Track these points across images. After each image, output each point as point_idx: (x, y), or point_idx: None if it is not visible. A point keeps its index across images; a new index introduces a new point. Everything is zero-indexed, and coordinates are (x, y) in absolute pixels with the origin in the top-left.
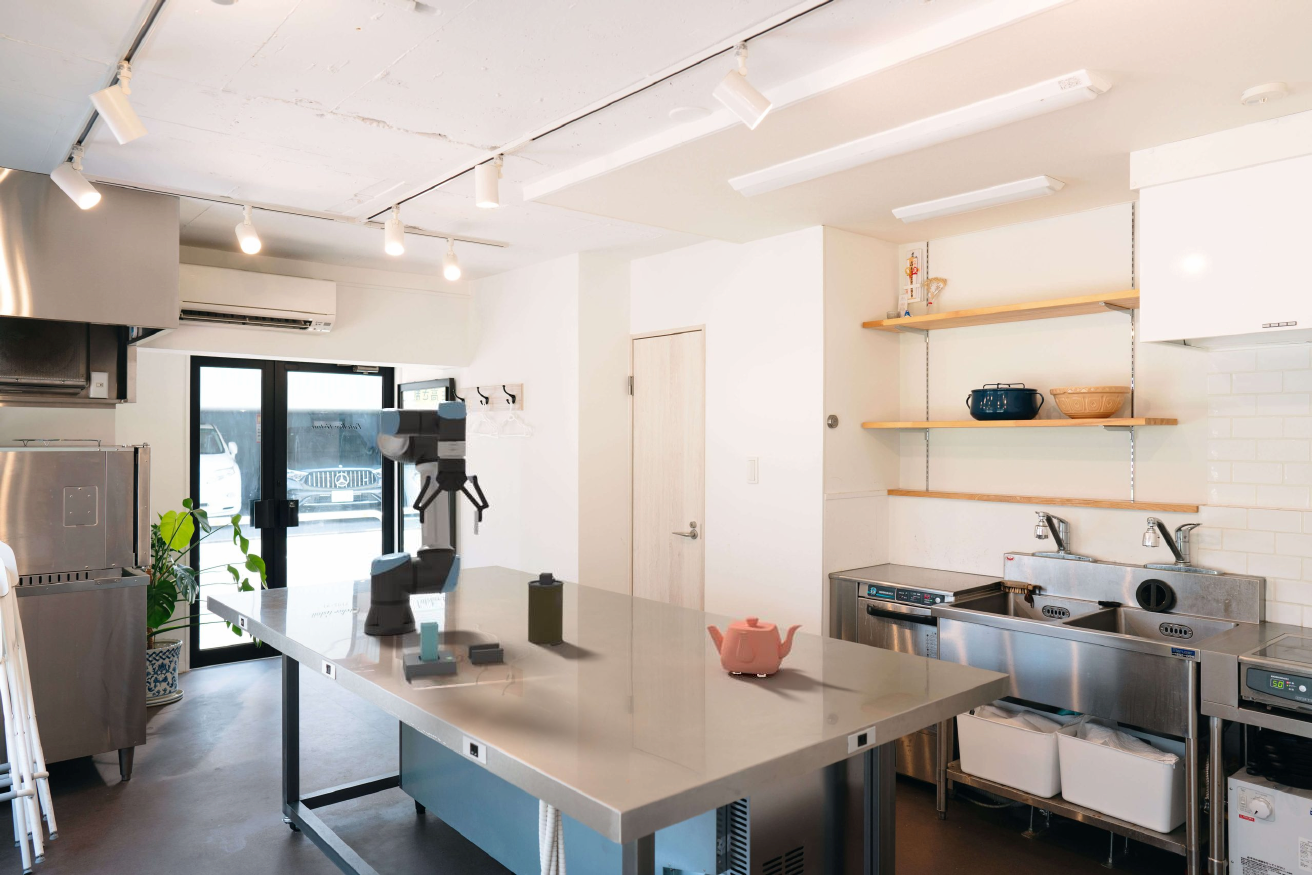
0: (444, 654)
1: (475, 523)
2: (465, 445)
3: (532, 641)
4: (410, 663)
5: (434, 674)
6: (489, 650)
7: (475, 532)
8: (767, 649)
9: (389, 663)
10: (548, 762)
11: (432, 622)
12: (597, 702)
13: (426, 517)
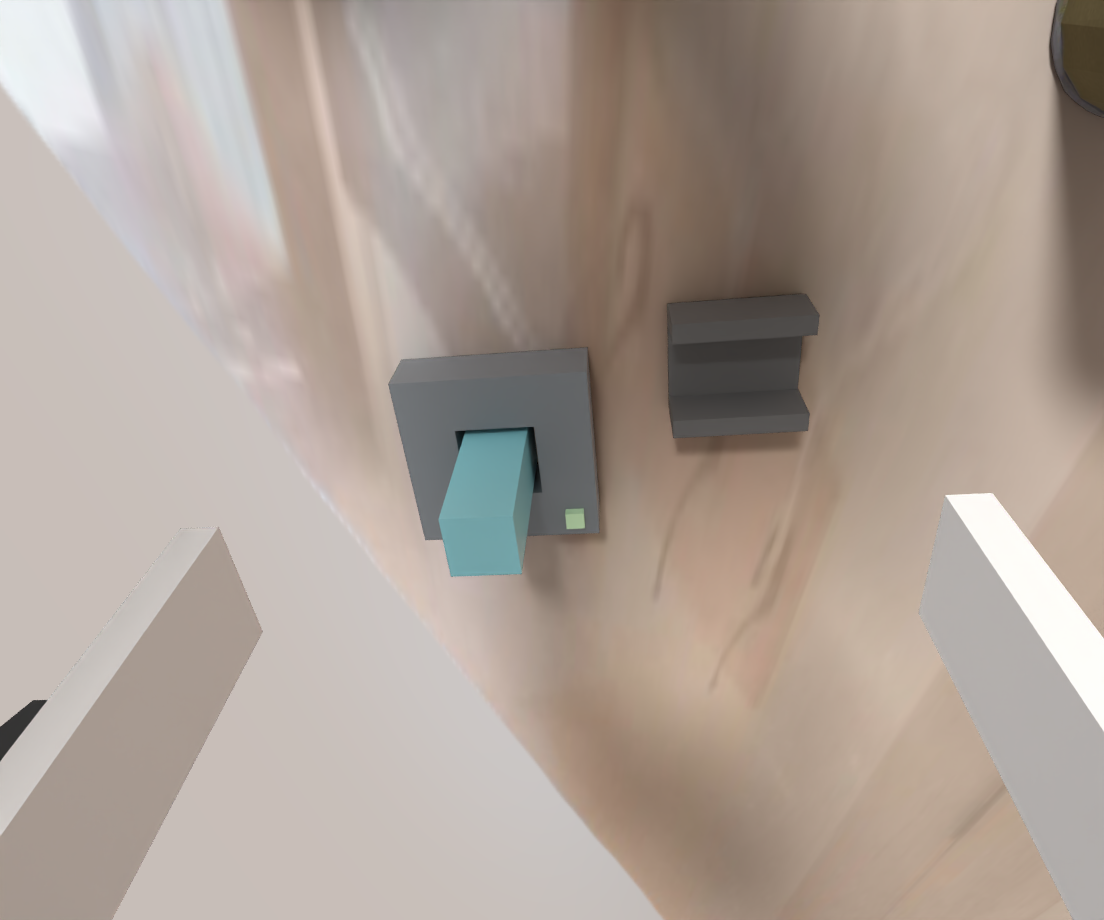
0: (558, 433)
1: (991, 752)
2: None
3: (1068, 71)
4: (437, 521)
5: None
6: (746, 433)
7: (930, 636)
8: None
9: (335, 285)
10: None
11: (493, 522)
12: (920, 777)
13: (117, 880)
